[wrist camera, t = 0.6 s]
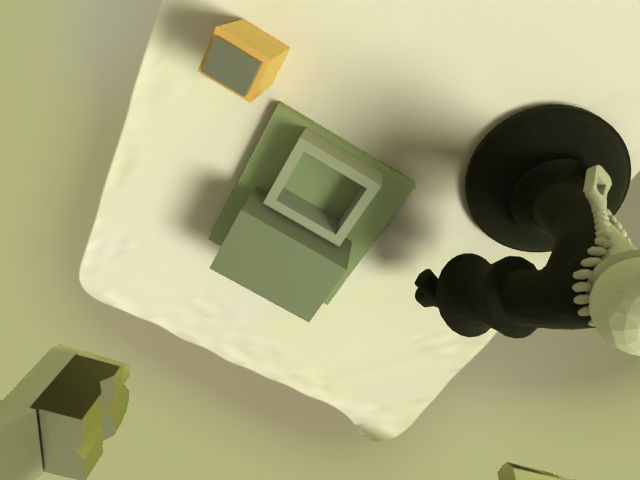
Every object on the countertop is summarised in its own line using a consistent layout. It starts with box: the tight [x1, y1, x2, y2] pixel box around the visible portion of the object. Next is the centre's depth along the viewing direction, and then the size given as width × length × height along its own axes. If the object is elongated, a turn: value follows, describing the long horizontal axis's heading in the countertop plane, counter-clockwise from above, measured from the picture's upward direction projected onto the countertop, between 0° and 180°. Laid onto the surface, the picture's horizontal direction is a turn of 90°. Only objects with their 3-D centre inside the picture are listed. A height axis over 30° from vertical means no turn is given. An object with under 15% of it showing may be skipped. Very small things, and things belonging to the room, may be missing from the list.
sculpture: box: [415, 105, 640, 356], centre depth 40 cm, size 15×24×25 cm, turn 136°
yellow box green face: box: [198, 19, 290, 103], centre depth 44 cm, size 4×5×9 cm
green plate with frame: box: [209, 102, 414, 322], centre depth 52 cm, size 18×16×7 cm
